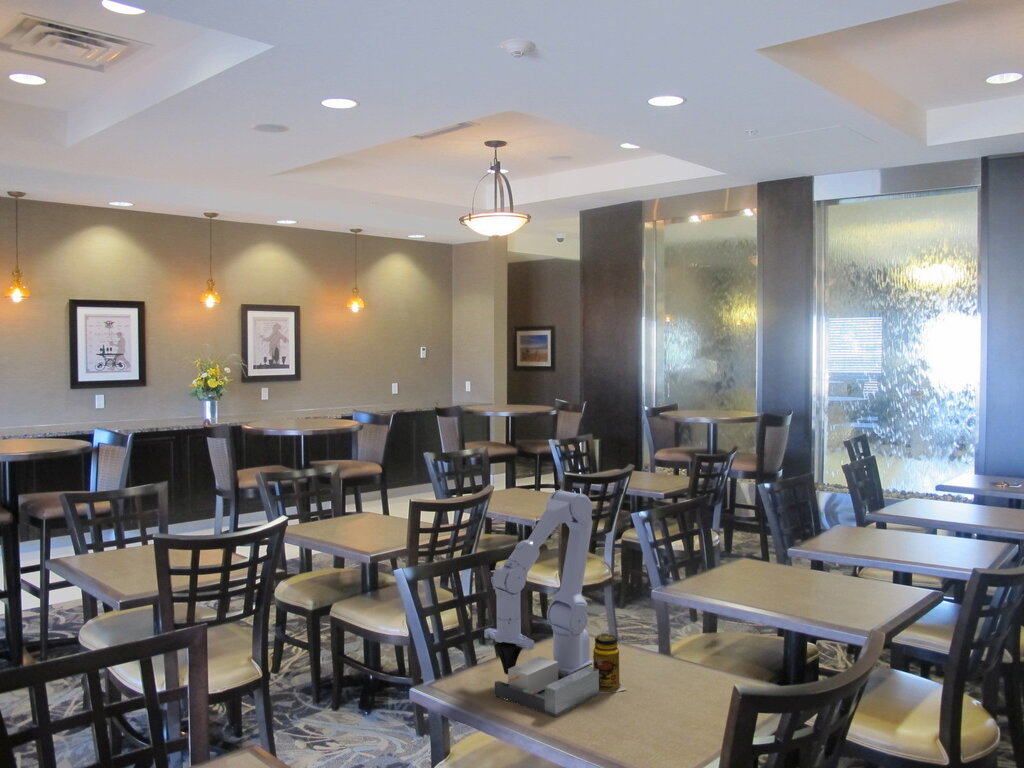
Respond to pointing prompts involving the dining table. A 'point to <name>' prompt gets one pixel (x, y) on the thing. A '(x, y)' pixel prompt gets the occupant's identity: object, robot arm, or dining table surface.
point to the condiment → (607, 663)
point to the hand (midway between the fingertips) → (509, 673)
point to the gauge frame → (555, 692)
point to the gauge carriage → (533, 674)
